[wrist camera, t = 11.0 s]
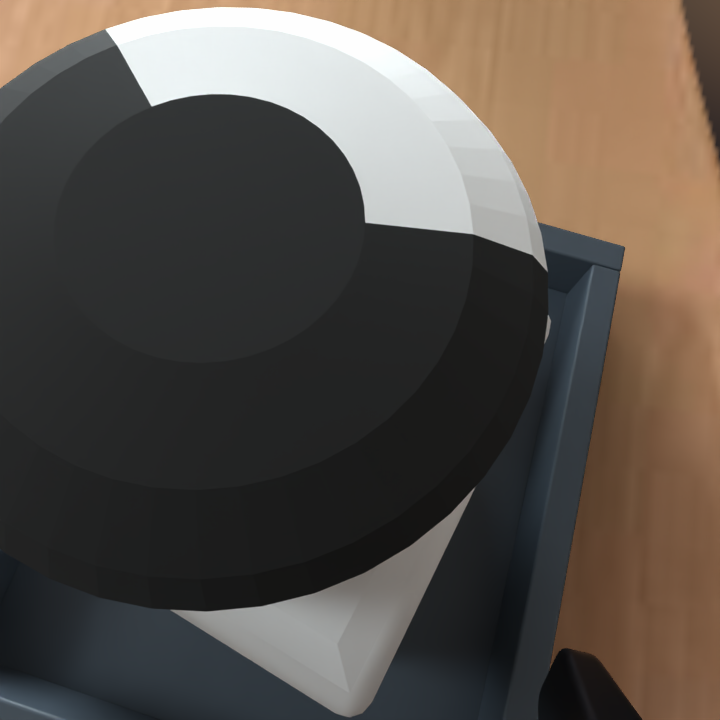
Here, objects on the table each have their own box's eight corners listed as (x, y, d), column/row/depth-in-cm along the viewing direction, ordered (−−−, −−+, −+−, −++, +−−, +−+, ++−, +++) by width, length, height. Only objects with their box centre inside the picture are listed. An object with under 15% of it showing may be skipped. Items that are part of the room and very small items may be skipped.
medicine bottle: (349, 655, 15) (394, 978, 3) (112, 510, 16) (-496, 372, 4) (473, 410, 17) (757, 95, 5) (258, 295, 18) (116, -181, 6)
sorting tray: (476, 863, 14) (504, 925, 11) (-57, 676, 15) (-133, 698, 12) (589, 286, 19) (625, 246, 16) (186, 170, 20) (165, 116, 17)
